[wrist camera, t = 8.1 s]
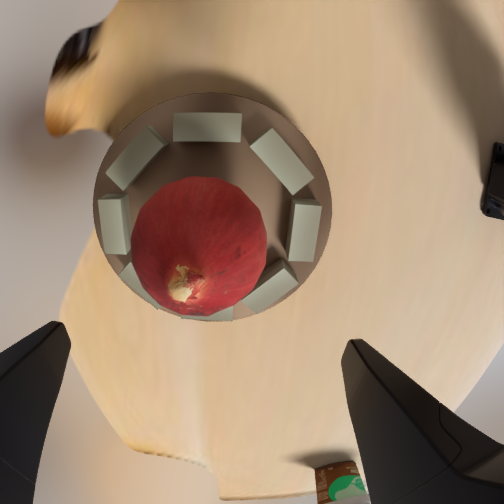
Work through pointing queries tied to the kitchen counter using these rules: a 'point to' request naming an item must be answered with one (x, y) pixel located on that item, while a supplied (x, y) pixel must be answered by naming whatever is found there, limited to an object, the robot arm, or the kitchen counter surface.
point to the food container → (340, 484)
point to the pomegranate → (198, 245)
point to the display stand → (228, 169)
